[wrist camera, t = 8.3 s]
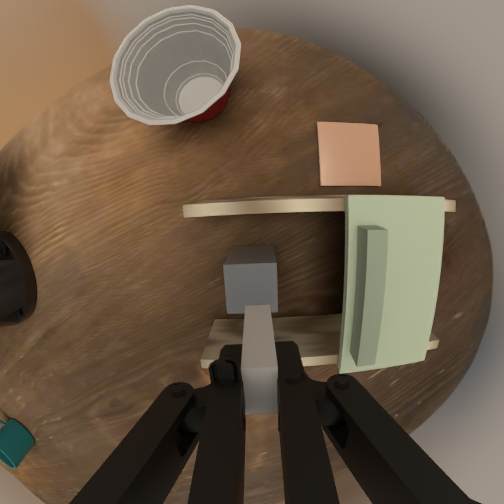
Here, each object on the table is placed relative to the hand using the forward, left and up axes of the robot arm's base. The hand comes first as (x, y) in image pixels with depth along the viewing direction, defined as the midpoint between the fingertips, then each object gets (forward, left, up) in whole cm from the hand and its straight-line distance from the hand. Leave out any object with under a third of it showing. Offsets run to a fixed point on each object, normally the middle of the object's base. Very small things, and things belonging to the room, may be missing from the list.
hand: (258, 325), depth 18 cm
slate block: (-1, 0, -16) cm, 16 cm away
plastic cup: (-6, +19, -16) cm, 25 cm away
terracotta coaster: (+10, +12, -16) cm, 22 cm away
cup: (-62, -41, -16) cm, 76 cm away
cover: (+11, 0, -6) cm, 13 cm away
